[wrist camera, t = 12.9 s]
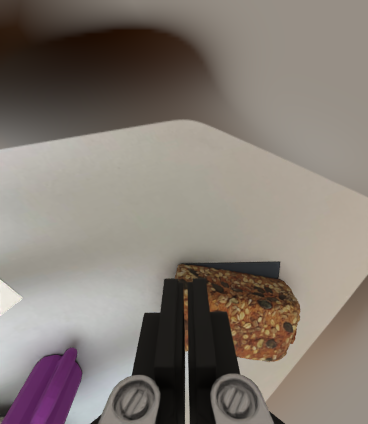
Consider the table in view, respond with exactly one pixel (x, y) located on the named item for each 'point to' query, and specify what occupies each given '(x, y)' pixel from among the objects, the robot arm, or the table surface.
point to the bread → (248, 310)
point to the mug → (47, 391)
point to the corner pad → (246, 268)
